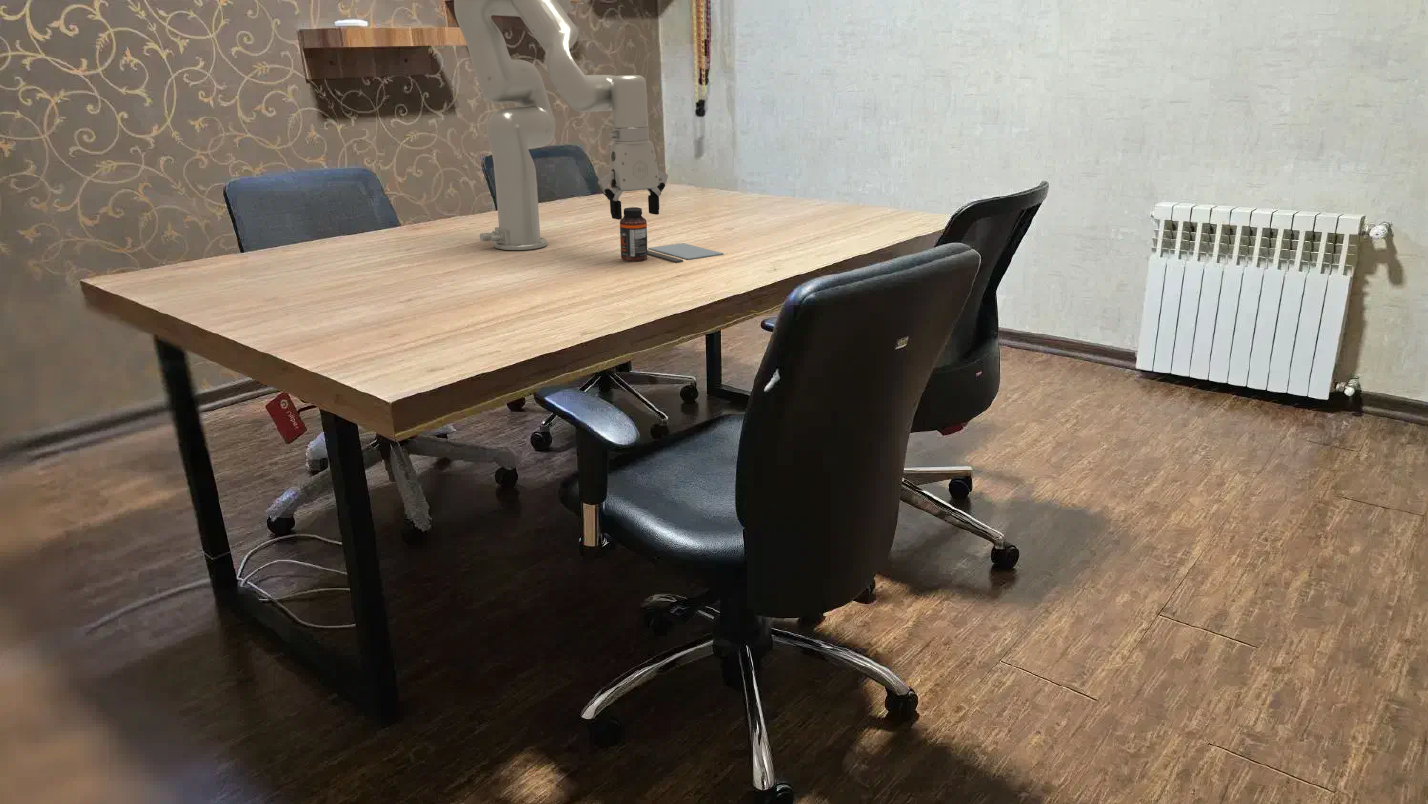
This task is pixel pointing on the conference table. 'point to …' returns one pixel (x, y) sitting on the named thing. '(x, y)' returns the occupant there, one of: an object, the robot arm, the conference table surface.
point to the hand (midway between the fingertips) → (635, 216)
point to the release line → (664, 257)
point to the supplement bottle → (633, 235)
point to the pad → (685, 251)
